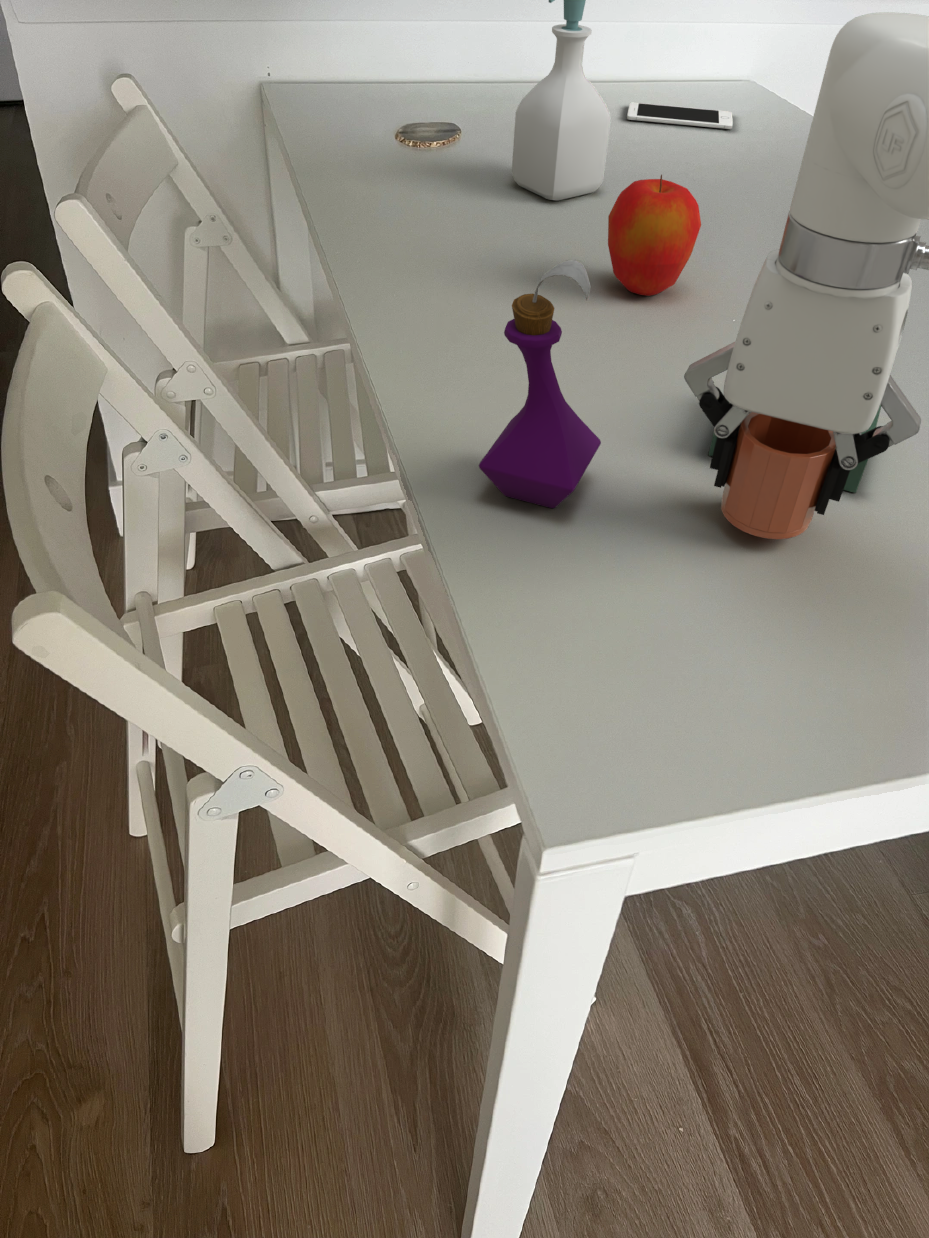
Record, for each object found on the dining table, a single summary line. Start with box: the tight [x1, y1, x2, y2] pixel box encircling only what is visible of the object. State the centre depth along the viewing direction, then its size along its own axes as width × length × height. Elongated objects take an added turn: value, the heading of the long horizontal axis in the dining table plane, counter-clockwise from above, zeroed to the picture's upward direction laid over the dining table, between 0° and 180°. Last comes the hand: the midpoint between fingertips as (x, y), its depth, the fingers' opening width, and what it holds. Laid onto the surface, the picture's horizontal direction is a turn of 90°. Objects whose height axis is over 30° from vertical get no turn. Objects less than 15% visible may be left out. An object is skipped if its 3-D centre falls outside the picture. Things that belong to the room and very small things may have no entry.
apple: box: [607, 174, 702, 297], centre depth 102 cm, size 9×9×12 cm
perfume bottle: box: [478, 259, 602, 509], centre depth 71 cm, size 8×8×18 cm
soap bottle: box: [511, 0, 612, 201], centre depth 121 cm, size 10×10×23 cm
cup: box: [720, 412, 836, 540], centre depth 72 cm, size 7×7×7 cm
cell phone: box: [626, 101, 734, 130], centre depth 154 cm, size 8×16×1 cm, turn 80°
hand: (772, 489), depth 73 cm, fingers closed on cup, 6 cm apart
